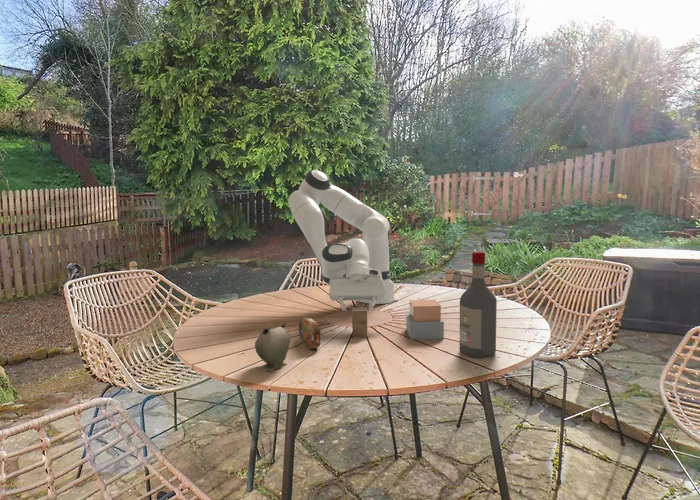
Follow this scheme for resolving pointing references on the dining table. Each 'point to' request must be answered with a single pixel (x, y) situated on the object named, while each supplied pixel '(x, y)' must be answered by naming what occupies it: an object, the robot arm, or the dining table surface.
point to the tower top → (425, 310)
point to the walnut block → (359, 321)
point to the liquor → (478, 314)
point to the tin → (309, 332)
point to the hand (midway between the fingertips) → (357, 309)
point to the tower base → (424, 329)
